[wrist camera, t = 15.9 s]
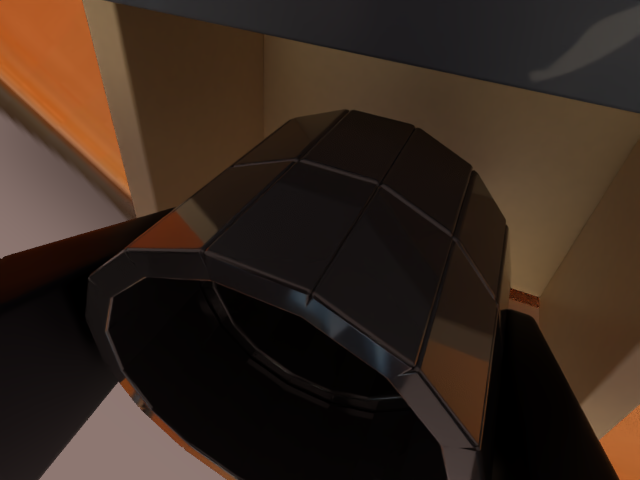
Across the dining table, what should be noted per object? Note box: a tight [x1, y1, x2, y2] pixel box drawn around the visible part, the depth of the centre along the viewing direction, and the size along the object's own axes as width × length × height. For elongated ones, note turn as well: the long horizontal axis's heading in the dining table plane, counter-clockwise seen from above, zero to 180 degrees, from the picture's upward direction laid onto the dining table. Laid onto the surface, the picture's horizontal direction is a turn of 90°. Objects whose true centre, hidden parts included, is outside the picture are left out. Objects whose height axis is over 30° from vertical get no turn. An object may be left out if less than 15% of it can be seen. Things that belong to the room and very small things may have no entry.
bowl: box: [85, 109, 511, 480], centre depth 7 cm, size 6×6×4 cm
